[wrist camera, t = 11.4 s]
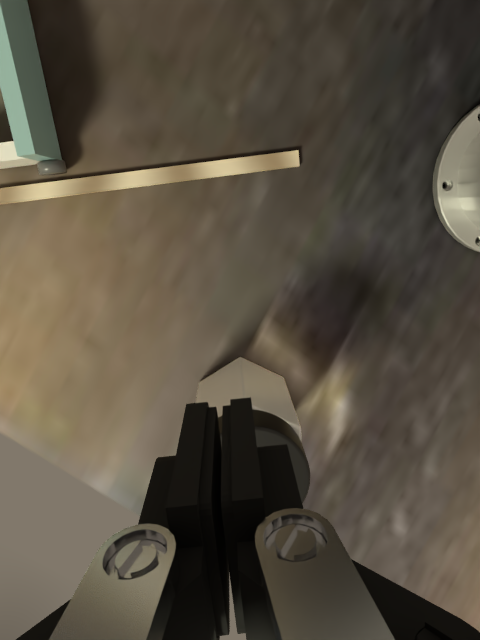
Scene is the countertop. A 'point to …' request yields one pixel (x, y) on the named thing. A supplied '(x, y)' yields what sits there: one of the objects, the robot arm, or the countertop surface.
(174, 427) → the countertop surface
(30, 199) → the track
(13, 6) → the green frame
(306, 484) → the jar
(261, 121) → the countertop surface
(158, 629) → the robot arm
